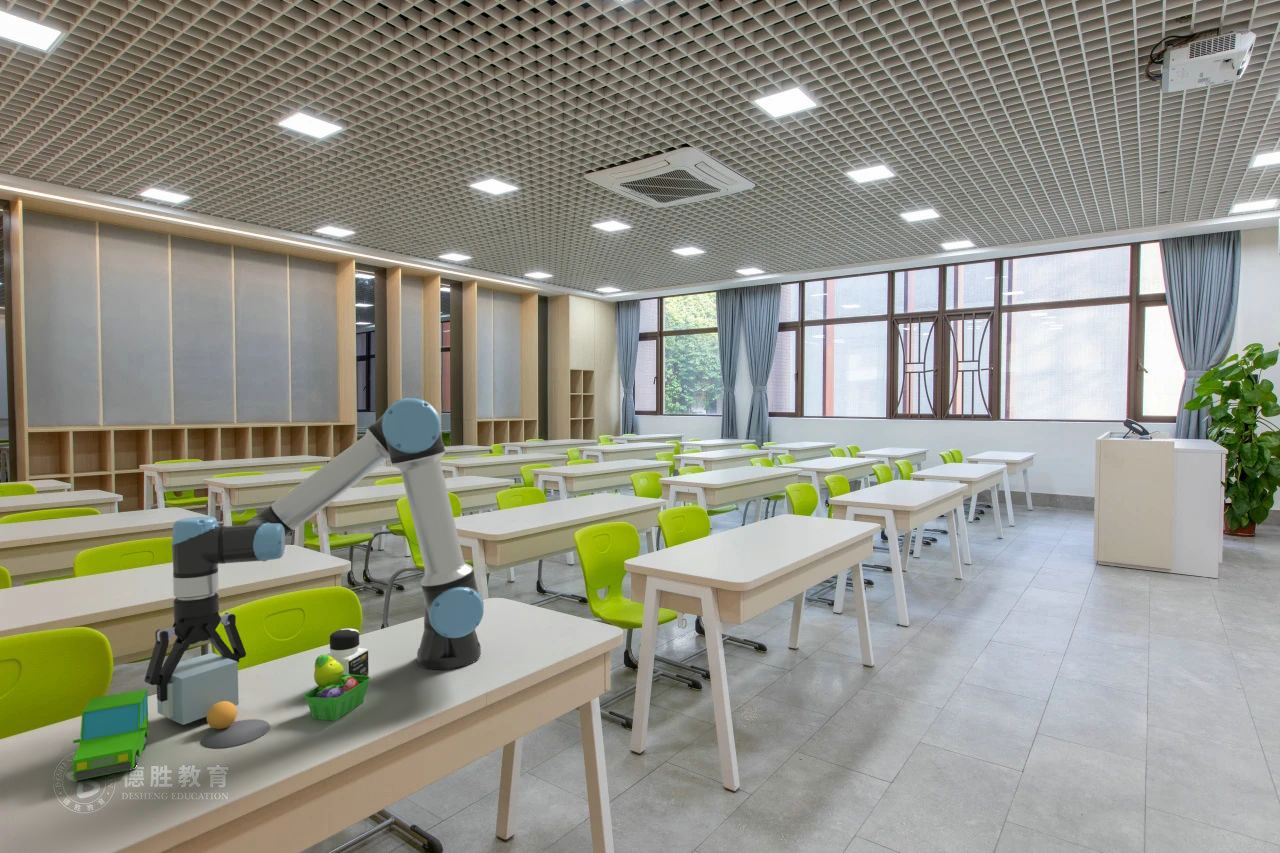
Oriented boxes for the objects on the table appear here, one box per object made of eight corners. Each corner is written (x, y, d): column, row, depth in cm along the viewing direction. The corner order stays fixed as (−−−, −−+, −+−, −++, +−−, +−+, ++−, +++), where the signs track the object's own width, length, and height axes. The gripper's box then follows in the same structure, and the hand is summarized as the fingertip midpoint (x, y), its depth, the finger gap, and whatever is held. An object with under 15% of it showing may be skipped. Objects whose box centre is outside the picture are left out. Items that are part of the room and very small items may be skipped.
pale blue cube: (238, 704, 135) (237, 661, 135) (182, 724, 127) (181, 678, 126) (212, 694, 141) (211, 652, 141) (157, 712, 132) (156, 668, 132)
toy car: (63, 792, 107) (61, 730, 107) (85, 755, 119) (84, 699, 119) (141, 775, 112) (140, 716, 112) (155, 741, 124) (154, 688, 123)
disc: (281, 728, 128) (281, 727, 128) (220, 753, 119) (220, 752, 119) (250, 715, 134) (250, 714, 134) (190, 738, 124) (190, 737, 124)
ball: (227, 698, 132) (232, 724, 131) (199, 708, 128) (204, 734, 127) (239, 695, 130) (244, 722, 129) (211, 705, 125) (215, 732, 125)
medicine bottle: (349, 692, 145) (348, 637, 145) (320, 689, 146) (319, 635, 146) (369, 679, 152) (368, 627, 152) (341, 677, 153) (340, 625, 153)
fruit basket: (335, 725, 130) (334, 667, 129) (297, 720, 132) (296, 663, 131) (372, 700, 141) (371, 647, 140) (336, 696, 143) (335, 644, 143)
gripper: (244, 580, 145) (247, 681, 145) (120, 606, 125) (123, 723, 126) (264, 584, 141) (266, 688, 141) (138, 612, 122) (141, 733, 122)
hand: (198, 705), depth 134 cm, fingers closed on pale blue cube, 10 cm apart
